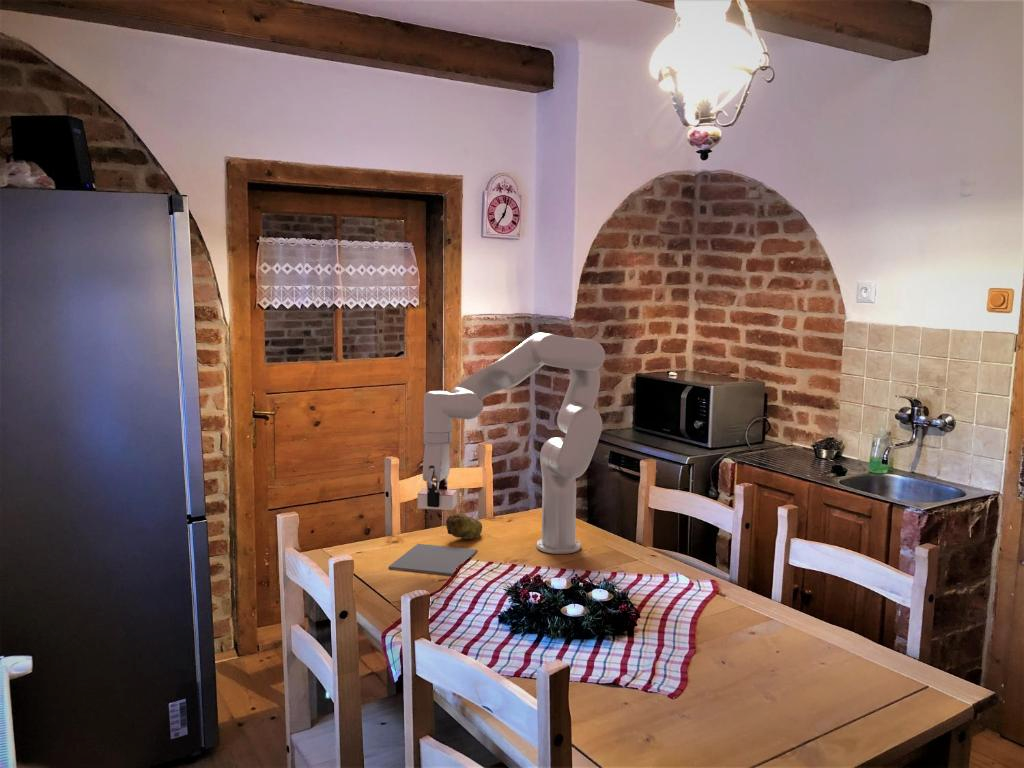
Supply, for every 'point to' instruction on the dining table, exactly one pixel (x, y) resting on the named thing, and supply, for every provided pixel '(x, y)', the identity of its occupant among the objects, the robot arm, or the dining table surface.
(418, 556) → the mat
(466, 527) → the olive green lumpy rock
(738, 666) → the dining table surface
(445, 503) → the card box
